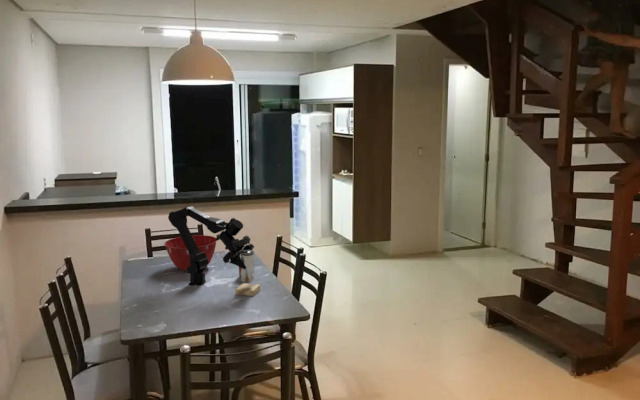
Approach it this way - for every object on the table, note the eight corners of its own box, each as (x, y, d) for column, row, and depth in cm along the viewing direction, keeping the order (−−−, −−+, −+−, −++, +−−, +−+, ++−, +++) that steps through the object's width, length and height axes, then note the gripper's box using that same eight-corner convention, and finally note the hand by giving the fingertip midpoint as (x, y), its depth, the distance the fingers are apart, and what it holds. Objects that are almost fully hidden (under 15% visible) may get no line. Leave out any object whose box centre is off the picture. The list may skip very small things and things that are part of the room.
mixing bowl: (164, 277, 272) (162, 248, 269) (167, 262, 299) (165, 236, 296) (219, 273, 278) (218, 245, 276) (217, 259, 305) (215, 233, 303)
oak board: (235, 294, 245) (235, 289, 245) (243, 288, 254) (243, 283, 253) (253, 295, 243) (253, 290, 242) (260, 289, 251) (260, 284, 251)
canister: (241, 282, 244) (240, 253, 241) (240, 278, 250) (240, 250, 247) (254, 281, 245) (254, 253, 242) (253, 277, 251) (253, 249, 248)
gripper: (227, 235, 237) (247, 261, 234) (250, 227, 253) (270, 252, 250) (214, 250, 242) (234, 276, 239) (237, 241, 258) (256, 265, 255)
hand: (249, 266), depth 245 cm, fingers closed on canister, 6 cm apart
